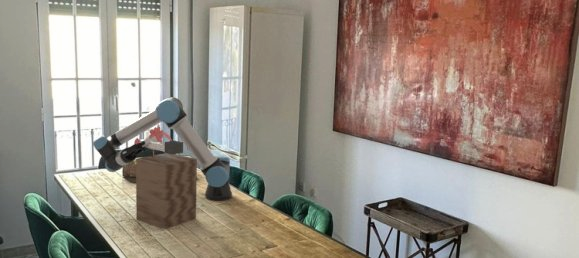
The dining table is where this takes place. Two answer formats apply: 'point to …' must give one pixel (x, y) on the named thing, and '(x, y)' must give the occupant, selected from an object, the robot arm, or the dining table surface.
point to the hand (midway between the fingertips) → (152, 139)
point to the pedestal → (166, 189)
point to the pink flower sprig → (157, 134)
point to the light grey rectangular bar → (166, 146)
